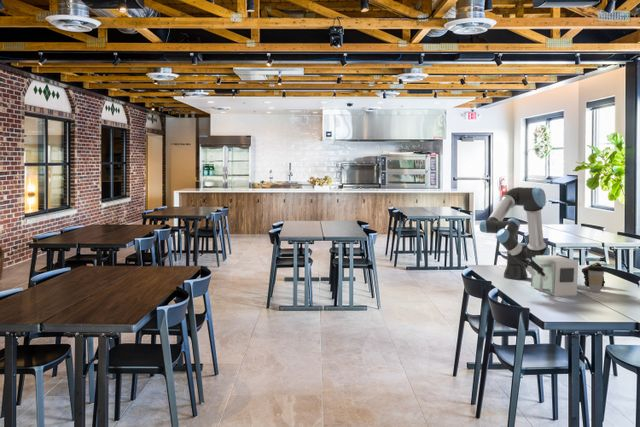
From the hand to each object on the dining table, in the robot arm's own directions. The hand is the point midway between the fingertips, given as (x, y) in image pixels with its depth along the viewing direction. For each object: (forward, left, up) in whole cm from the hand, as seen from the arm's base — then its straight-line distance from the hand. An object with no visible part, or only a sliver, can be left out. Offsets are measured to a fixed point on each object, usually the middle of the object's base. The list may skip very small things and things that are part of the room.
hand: (540, 277), depth 321 cm
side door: (-1, +9, -10) cm, 14 cm away
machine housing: (+8, +15, -11) cm, 20 cm away
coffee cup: (+31, +25, -11) cm, 41 cm away
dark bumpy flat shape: (+31, +41, -11) cm, 52 cm away
